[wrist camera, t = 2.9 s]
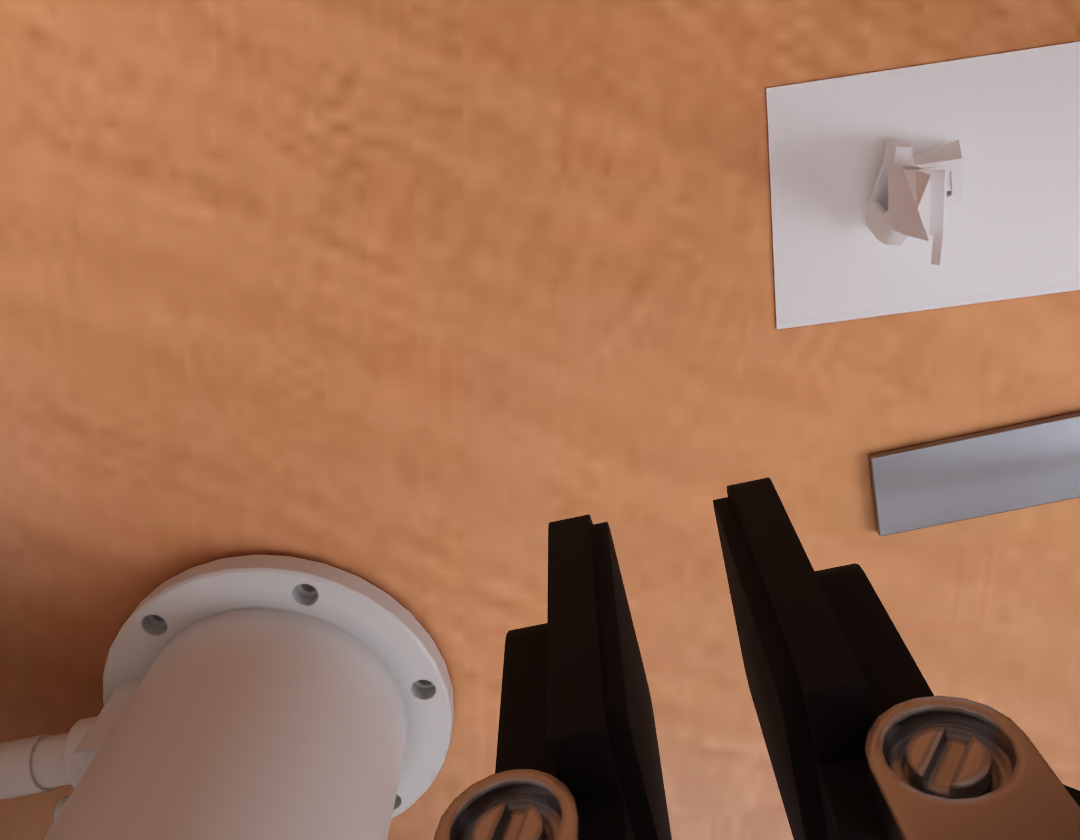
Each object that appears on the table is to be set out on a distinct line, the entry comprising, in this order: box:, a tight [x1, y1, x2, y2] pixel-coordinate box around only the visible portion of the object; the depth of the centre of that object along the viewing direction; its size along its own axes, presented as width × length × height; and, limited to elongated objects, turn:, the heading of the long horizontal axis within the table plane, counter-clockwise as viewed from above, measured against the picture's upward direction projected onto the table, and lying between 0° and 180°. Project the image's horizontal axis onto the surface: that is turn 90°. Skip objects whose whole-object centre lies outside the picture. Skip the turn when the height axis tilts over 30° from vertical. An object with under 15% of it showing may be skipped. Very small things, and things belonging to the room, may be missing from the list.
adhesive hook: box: [865, 138, 964, 266], centre depth 25 cm, size 3×3×3 cm
